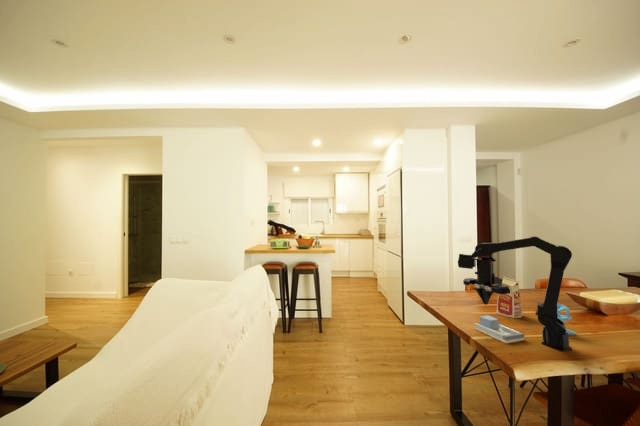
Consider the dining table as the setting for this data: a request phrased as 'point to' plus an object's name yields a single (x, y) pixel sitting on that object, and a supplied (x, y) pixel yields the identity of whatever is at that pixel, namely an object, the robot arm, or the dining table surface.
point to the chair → (564, 318)
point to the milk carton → (510, 300)
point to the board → (501, 333)
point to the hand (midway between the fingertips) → (485, 304)
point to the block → (489, 322)
